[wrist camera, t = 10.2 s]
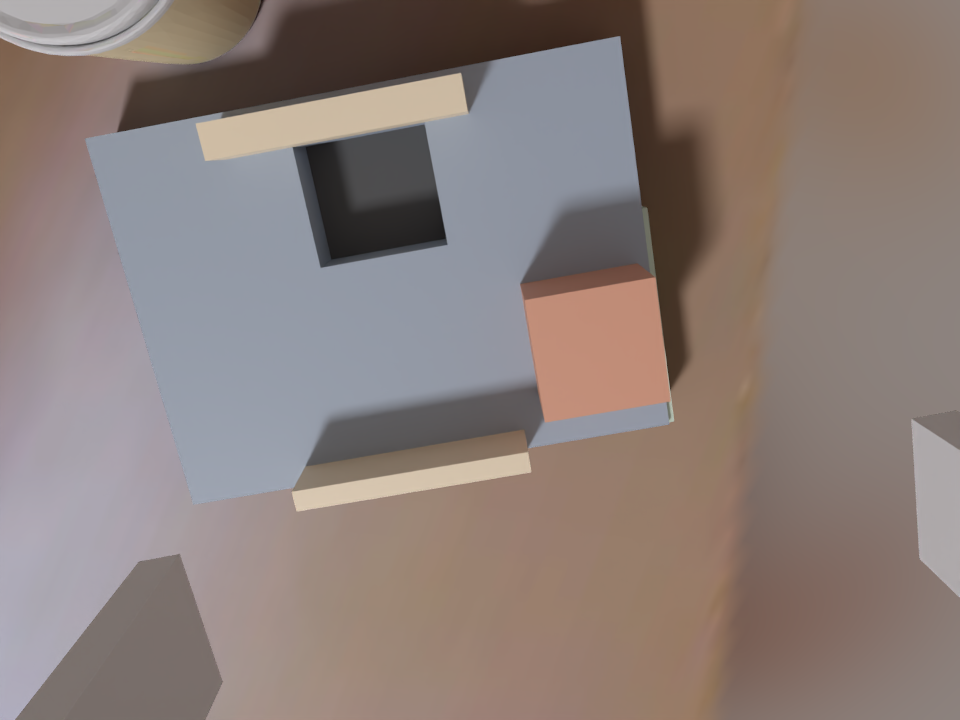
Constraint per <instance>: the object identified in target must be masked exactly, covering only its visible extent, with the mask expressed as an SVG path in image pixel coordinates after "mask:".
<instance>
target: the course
mask: <svg viewBox="0 0 960 720" xmlns="http://www.w3.org/2000/svg"><path fill="white" fill-rule="evenodd" d="M85 141H86V144H87V147H88V151H89V154H90V158H91V161H92V164H93V168H94V171H95V174H96V178H97V181H98V184H99V188H100V191H101V195H102V198H103V201H104V205H105V208H106V211H107V215H108V218H109V222H110V225H111V228H112V232H113V235H114V238H115V242H116V245H117V249H118V252H119V255H120V259H121V262H122V265H123V269H124V272H125V275H126V279H127V282H128V286H129V289H130V292H131V296H132V299H133V302H134V306H135V309H136V313H137V316H138V319H139V323H140V326H141V329H142V333H143V336H144V340H145V343H146V346H147V350H148V353H149V356H150V360H151V363H152V366H153V370H154V373H155V377H156V380H157V383H158V387H159V390H160V393H161V397H162V400H163V404H164V407H165V410H166V414H167V417H168V420H169V424H170V427H171V431H172V434H173V437H174V441H175V444H176V447H177V451H178V454H179V457H180V461H181V464H182V468H183V471H184V474H185V478H186V481H187V484H188V488H189V491H190V495H191V498H192V501H193V505H194V504H200V503H206V502H212V501H218V500H224V499H230V498H236V497H242V496H248V495H254V494H259V493H265V492H271V491H277V490H283V489H289V488H293V490H292V495H293V499H294V503H295V507H296V511H303V510H309V509H315V508H321V507H327V506H333V505H339V504H345V503H351V502H357V501H363V500H369V499H375V498H381V497H387V496H393V495H398V494H404V493H410V492H416V491H422V490H428V489H434V488H440V487H446V486H452V485H458V484H464V483H470V482H476V481H482V480H488V479H494V478H500V477H506V476H512V475H518V474H524V473H530V472H531V466H530V459H529V453H528V448H532V447H538V446H544V445H550V444H556V443H562V442H568V441H574V440H580V439H586V438H592V437H597V436H603V435H609V434H615V433H621V432H627V431H633V430H639V429H645V428H651V427H657V426H663V425H669V422H673V421H674V417H673V409H672V401H671V402H665V403H659V404H653V405H647V406H641V407H635V408H629V409H623V410H617V411H611V412H605V413H599V414H593V415H587V416H581V417H576V418H570V419H564V420H558V421H552V422H546V423H545V420H544V416H543V412H542V407H541V403H540V399H539V394H538V388H537V382H536V376H535V370H534V364H533V358H532V352H531V346H530V340H529V335H528V329H527V323H526V317H525V311H524V305H523V299H522V293H521V287H520V284H523V283H529V282H534V281H540V280H546V279H551V278H557V277H563V276H568V275H574V274H580V273H585V272H591V271H597V270H602V269H608V268H614V267H619V266H625V265H631V264H636V263H638V264H639V265H640V266H642V267H643V268H644V269H645V270H647V271H648V272H649V273H651V274H652V275H653V276H655V278H656V273H655V265H654V257H653V249H652V241H651V233H650V225H649V217H648V209H647V208H646V207H644V206H642V205H641V197H640V189H639V181H638V173H637V166H636V158H635V150H634V142H633V134H632V126H631V118H630V110H629V102H628V95H627V87H626V79H625V71H624V63H623V55H622V47H621V39H620V36H618V37H612V38H607V39H602V40H597V41H591V42H586V43H581V44H576V45H571V46H565V47H560V48H555V49H550V50H545V51H539V52H534V53H529V54H524V55H518V56H513V57H508V58H503V59H498V60H492V61H487V62H482V63H477V64H472V65H466V66H461V67H456V68H451V69H445V70H440V71H435V72H430V73H425V74H419V75H414V76H409V77H404V78H399V79H393V80H388V81H383V82H378V83H373V84H367V85H362V86H357V87H352V88H346V89H341V90H336V91H331V92H326V93H320V94H315V95H310V96H305V97H300V98H294V99H289V100H284V101H279V102H273V103H268V104H263V105H258V106H253V107H247V108H242V109H237V110H232V111H227V112H221V113H216V114H211V115H206V116H200V117H195V118H190V119H185V120H180V121H174V122H169V123H164V124H159V125H154V126H148V127H143V128H138V129H133V130H127V131H122V132H117V133H112V134H107V135H101V136H96V137H91V138H86V139H85ZM656 286H657V281H656ZM657 294H658V289H657ZM658 302H659V297H658ZM659 310H660V305H659ZM660 318H661V313H660ZM661 326H662V321H661ZM662 335H663V329H662ZM663 343H664V337H663ZM664 351H665V345H664ZM665 359H666V353H665ZM666 367H667V361H666ZM667 375H668V369H667ZM668 383H669V377H668ZM669 391H670V385H669ZM670 399H671V393H670Z"/></svg>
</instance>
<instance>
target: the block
mask: <svg viewBox="0 0 960 720" xmlns="http://www.w3.org/2000/svg"><path fill="white" fill-rule="evenodd" d="M520 287H521V293H522V299H523V305H524V311H525V317H526V323H527V329H528V335H529V340H530V346H531V352H532V358H533V364H534V370H535V376H536V382H537V388H538V394H539V399H540V403H541V407H542V412H543V416H544V420H545V423H546V422H552V421H558V420H564V419H570V418H576V417H581V416H587V415H593V414H599V413H605V412H611V411H617V410H623V409H629V408H635V407H641V406H647V405H653V404H659V403H665V402H671V399H670V391H669V383H668V375H667V367H666V359H665V351H664V343H663V335H662V326H661V318H660V310H659V302H658V294H657V286H656V278H655V276H653V275H652V274H651V273H649V272H648V271H647V270H645V269H644V268H643V267H642V266H640V265H639V264H638V263H636V264H631V265H625V266H619V267H614V268H608V269H602V270H597V271H591V272H585V273H580V274H574V275H568V276H563V277H557V278H551V279H546V280H540V281H534V282H529V283H523V284H520Z"/></svg>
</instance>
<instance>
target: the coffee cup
mask: <svg viewBox="0 0 960 720" xmlns="http://www.w3.org/2000/svg"><path fill="white" fill-rule="evenodd" d="M260 2H261V0H0V38H2V39H4V40H6V41H9V42H11V43H13V44H15V45H17V46H20V47H23V48H26V49H29V50H32V51H36V52H41V53H46V54H52V55H63V56H84V55H90V56H99V57H108V58H117V59H126V60H135V61H146V62H156V63H167V64H197V63H202V62H207V61H210V60H213V59H215V58H217V57H220V56H222V55H223V54H225V53H227V52H228V51H230V50H231V49H232V48H234V47H235V46H236V45H237V44H238V43H239V42H240V41H241V40H242V39H243V37H244V36H245V35H246V33H247V32H248V31H249V29H250V28H251V26H252V24H253V22H254V20H255V18H256V16H257V13H258V9H259V6H260Z"/></svg>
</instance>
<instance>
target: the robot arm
mask: <svg viewBox="0 0 960 720" xmlns="http://www.w3.org/2000/svg"><path fill="white" fill-rule="evenodd" d="M912 436H913V454H914V470H915V489H916V505H917V522H918V540H919V557H920V558H919V559H920V560H921V561H922V562H924V564H926V565H927V566H928V567H929V568H930V569H931V570H932V571H933V572H934V573H935V574H936V575H937V576H938V577H939V578H940V579H941V580H942V581H943V582H944V583H946V585H947V586H948V587H949V588H950V589H951V590H953V591H954V592H955V593H956V594H957V595H958V596H959V597H960V412H958V411H956V410H955V411H950V412H945V413H939V414H934V415H929V416H923V417H918V418H912ZM222 682H223V681H222V678H221V675H220V672H219V669H218V666H217V664H216V661H215V658H214V655H213V652H212V649H211V646H210V643H209V640H208V637H207V634H206V631H205V628H204V625H203V622H202V619H201V616H200V613H199V610H198V607H197V604H196V601H195V598H194V595H193V592H192V589H191V586H190V583H189V580H188V577H187V574H186V571H185V568H184V565H183V562H182V559H181V556H180V554H178V555H172V556H167V557H162V558H156V559H151V560H145V561H140V562H138V564H137V565H136V566H135V567H134V569H133V570H132V571H131V573H130V574H129V575H128V576H127V578H126V579H125V580H124V581H123V583H122V584H121V585H120V587H119V588H118V589H117V590H116V592H115V593H114V594H113V596H112V597H111V598H110V599H109V601H108V602H107V603H106V604H105V606H104V607H103V608H102V610H101V611H100V612H99V613H98V615H97V616H96V617H95V619H94V620H93V621H92V622H91V624H90V625H89V626H88V627H87V629H86V630H85V631H84V633H83V634H82V635H81V636H80V638H79V639H78V640H77V642H76V643H75V644H74V645H73V647H72V648H71V649H70V650H69V652H68V653H67V654H66V656H65V657H64V658H63V659H62V661H61V662H60V663H59V665H58V666H57V667H56V668H55V670H54V671H53V672H52V673H51V675H50V676H49V677H48V679H47V680H46V681H45V682H44V684H43V685H42V686H41V688H40V689H39V690H38V691H37V693H36V694H35V695H34V696H33V698H32V699H31V700H30V702H29V703H28V704H27V705H26V707H25V708H24V709H23V711H22V712H21V713H20V714H19V716H18V717H17V718H16V719H15V720H205V719H206V717H207V715H208V713H209V711H210V708H211V706H212V704H213V702H214V700H215V698H216V695H217V693H218V691H219V689H220V687H221V685H222Z"/></svg>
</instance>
